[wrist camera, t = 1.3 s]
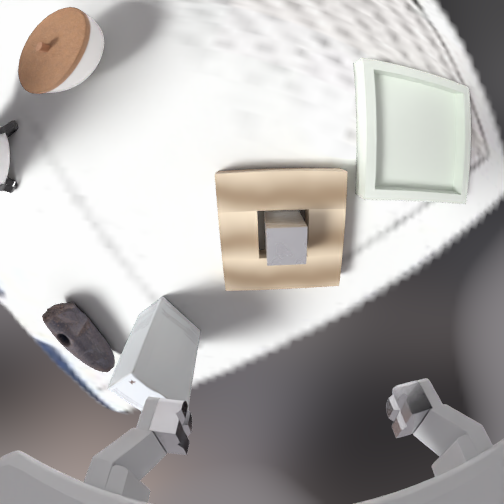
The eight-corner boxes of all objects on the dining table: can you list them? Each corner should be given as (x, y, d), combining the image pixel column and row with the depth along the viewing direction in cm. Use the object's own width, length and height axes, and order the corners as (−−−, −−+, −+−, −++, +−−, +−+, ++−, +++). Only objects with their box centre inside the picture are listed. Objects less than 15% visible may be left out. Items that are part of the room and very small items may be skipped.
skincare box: (139, 312, 38) (101, 386, 25) (165, 293, 37) (128, 372, 23) (178, 347, 41) (156, 424, 27) (205, 331, 39) (188, 414, 26)
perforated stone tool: (126, 353, 42) (113, 382, 36) (109, 359, 43) (95, 386, 37) (71, 287, 37) (49, 311, 31) (56, 297, 38) (35, 321, 32)
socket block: (217, 171, 30) (214, 174, 28) (340, 168, 30) (347, 171, 27) (227, 280, 36) (225, 291, 33) (334, 275, 35) (339, 285, 33)
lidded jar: (73, 22, 20) (33, 6, 12) (131, 27, 22) (95, 1, 13) (44, 90, 24) (-1, 89, 16) (97, 102, 26) (50, 99, 17)
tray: (353, 63, 24) (362, 57, 21) (455, 88, 24) (468, 87, 21) (355, 193, 31) (364, 199, 28) (453, 198, 30) (465, 204, 28)
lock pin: (264, 211, 32) (266, 228, 26) (298, 210, 32) (307, 227, 26) (265, 243, 34) (267, 265, 28) (297, 241, 33) (306, 264, 28)
